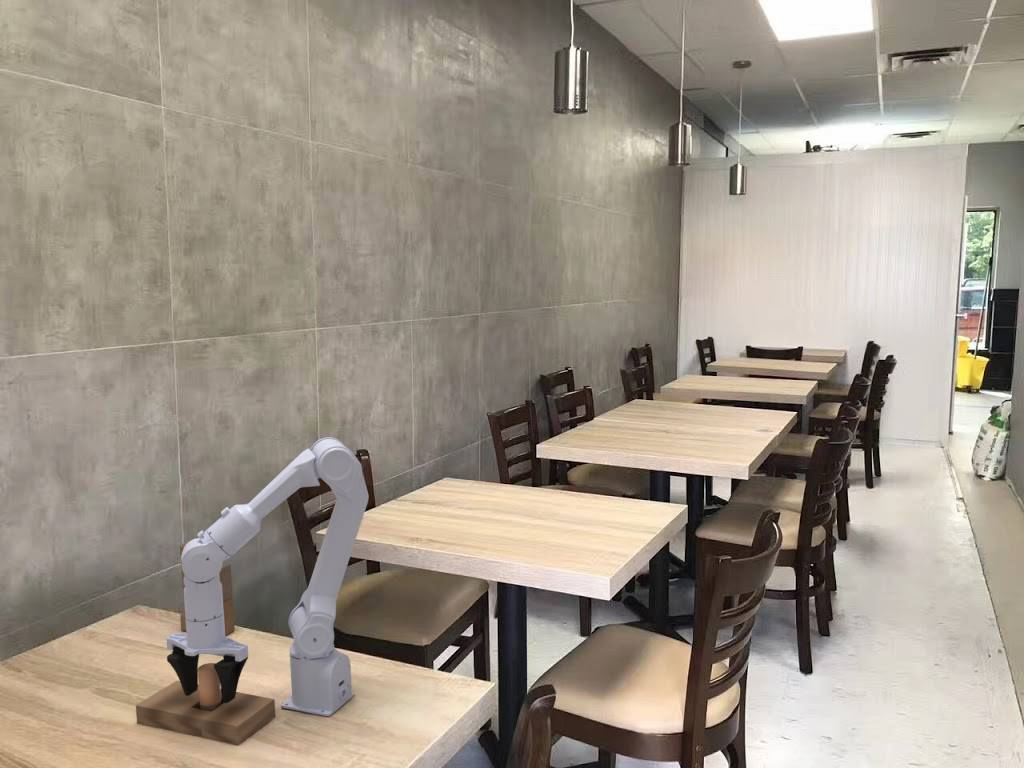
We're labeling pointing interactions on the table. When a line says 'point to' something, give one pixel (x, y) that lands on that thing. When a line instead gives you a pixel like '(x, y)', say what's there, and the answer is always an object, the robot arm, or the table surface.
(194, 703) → the board
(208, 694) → the peg
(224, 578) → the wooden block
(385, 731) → the table surface
